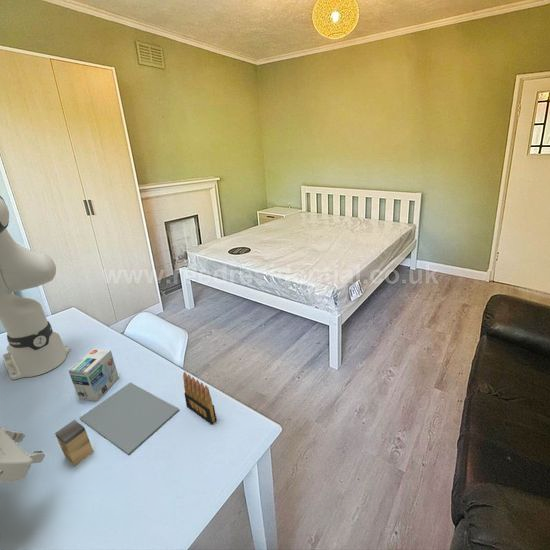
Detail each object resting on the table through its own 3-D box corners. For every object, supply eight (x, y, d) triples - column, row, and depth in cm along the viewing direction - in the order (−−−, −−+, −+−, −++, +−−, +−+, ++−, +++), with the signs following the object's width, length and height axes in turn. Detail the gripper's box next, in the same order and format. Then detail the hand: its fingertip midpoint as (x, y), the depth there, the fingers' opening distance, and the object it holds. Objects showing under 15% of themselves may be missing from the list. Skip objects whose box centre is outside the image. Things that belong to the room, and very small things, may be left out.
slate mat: (79, 419, 90) (79, 417, 89) (130, 383, 102) (130, 382, 102) (128, 455, 78) (128, 453, 78) (179, 410, 91) (179, 409, 90)
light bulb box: (97, 402, 95) (87, 372, 91) (77, 399, 97) (66, 370, 93) (120, 377, 105) (111, 349, 101) (102, 375, 106) (92, 347, 102)
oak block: (65, 457, 79) (54, 433, 76) (83, 443, 82) (74, 419, 79) (75, 466, 77) (64, 441, 73) (93, 451, 80) (84, 427, 77)
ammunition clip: (217, 420, 87) (211, 384, 82) (211, 424, 85) (205, 389, 81) (191, 402, 93) (185, 368, 88) (186, 406, 92) (179, 372, 87)
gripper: (-15, 456, 54) (64, 452, 65) (-55, 409, 65) (19, 413, 76) (-38, 498, 52) (47, 486, 64) (-75, 442, 63) (4, 441, 74)
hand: (31, 446), depth 70 cm, fingers open, 8 cm apart
